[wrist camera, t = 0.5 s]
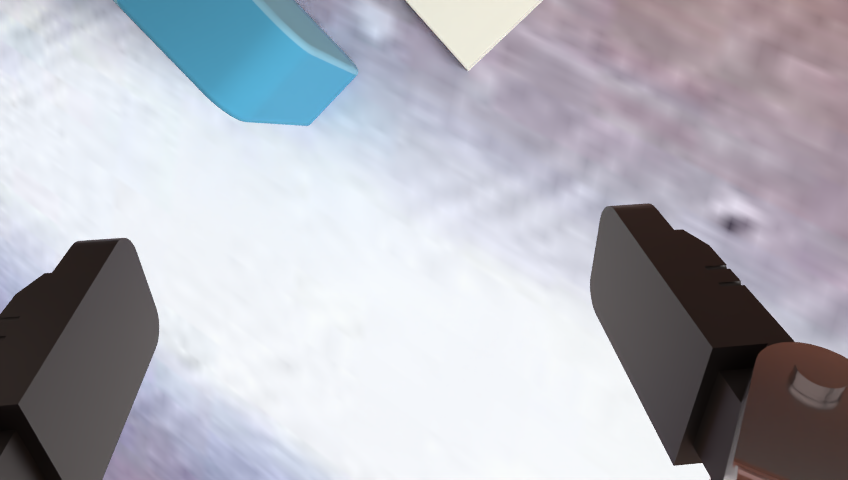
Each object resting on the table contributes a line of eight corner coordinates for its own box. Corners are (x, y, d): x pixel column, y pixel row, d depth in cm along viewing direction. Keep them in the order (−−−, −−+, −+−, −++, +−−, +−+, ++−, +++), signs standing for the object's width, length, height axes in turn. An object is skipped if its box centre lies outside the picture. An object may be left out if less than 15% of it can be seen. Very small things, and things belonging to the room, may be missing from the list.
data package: (174, -17, 36) (21, -92, 24) (223, -75, 35) (88, -182, 23) (314, 128, 36) (230, 124, 25) (365, 74, 36) (303, 43, 24)
